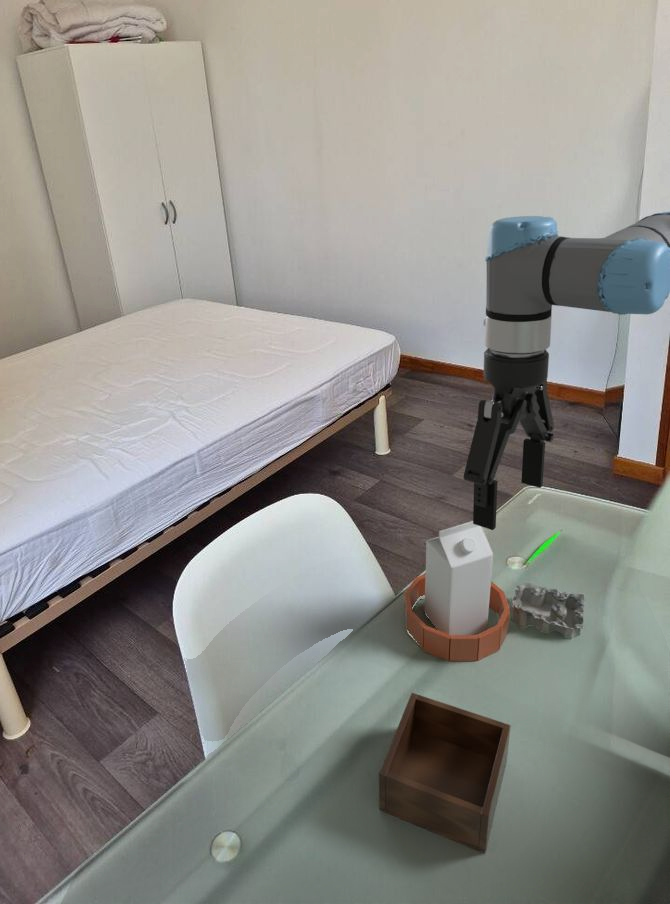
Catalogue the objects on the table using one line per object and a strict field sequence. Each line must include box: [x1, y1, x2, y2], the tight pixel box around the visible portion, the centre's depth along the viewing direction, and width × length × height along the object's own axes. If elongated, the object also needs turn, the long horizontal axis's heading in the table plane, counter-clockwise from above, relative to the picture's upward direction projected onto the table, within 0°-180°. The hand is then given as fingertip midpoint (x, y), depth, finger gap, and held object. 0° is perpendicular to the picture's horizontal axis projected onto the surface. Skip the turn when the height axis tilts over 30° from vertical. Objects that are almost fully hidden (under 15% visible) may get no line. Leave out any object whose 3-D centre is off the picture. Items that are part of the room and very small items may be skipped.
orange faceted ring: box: [404, 573, 511, 662], centre depth 108 cm, size 16×16×4 cm
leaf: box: [525, 529, 563, 565], centre depth 124 cm, size 1×14×1 cm, turn 134°
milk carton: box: [423, 520, 494, 635], centre depth 105 cm, size 7×7×19 cm
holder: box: [378, 692, 512, 854], centre depth 83 cm, size 13×13×7 cm
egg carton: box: [510, 582, 585, 640], centre depth 108 cm, size 11×8×4 cm
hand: (509, 504), depth 90 cm, fingers open, 13 cm apart
